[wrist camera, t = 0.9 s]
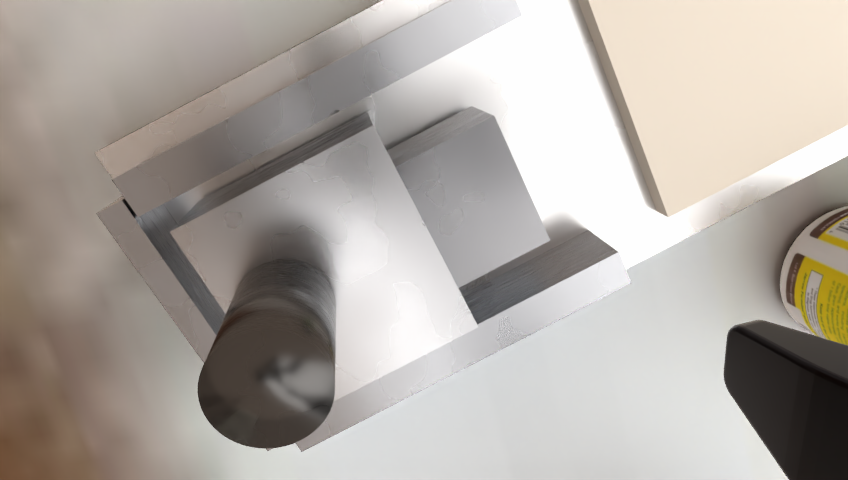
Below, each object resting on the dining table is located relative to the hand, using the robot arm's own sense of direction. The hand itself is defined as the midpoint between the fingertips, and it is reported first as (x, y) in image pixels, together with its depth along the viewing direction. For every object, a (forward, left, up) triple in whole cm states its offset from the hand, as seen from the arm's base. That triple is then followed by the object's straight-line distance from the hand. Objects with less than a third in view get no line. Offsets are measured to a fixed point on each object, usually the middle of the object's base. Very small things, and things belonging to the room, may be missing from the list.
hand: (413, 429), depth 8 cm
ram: (-1, 0, -13) cm, 13 cm away
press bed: (-1, -13, -13) cm, 19 cm away
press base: (-1, -6, -14) cm, 16 cm away
